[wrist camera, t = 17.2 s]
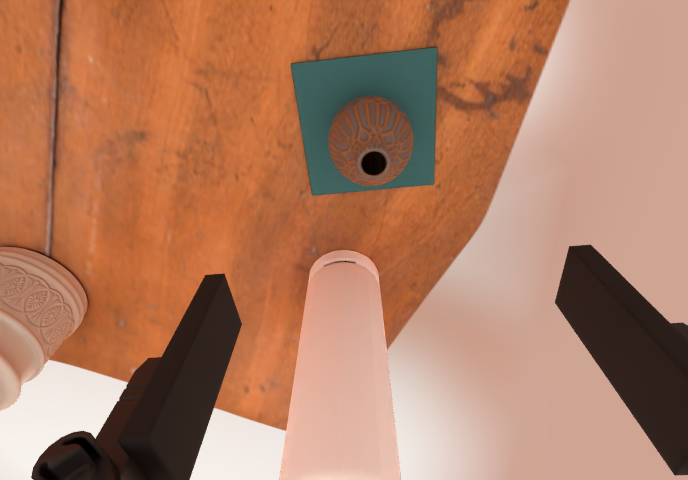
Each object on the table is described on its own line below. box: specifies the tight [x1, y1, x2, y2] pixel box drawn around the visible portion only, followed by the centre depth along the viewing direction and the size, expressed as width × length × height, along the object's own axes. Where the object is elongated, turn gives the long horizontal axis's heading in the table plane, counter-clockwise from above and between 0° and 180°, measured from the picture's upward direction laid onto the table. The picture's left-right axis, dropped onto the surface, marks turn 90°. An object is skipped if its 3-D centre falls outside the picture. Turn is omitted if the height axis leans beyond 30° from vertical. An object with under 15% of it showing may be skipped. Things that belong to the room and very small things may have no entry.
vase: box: [328, 96, 414, 186], centre depth 30 cm, size 7×7×9 cm
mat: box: [291, 47, 437, 195], centre depth 34 cm, size 12×12×1 cm
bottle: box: [279, 250, 401, 480], centre depth 31 cm, size 8×8×28 cm
